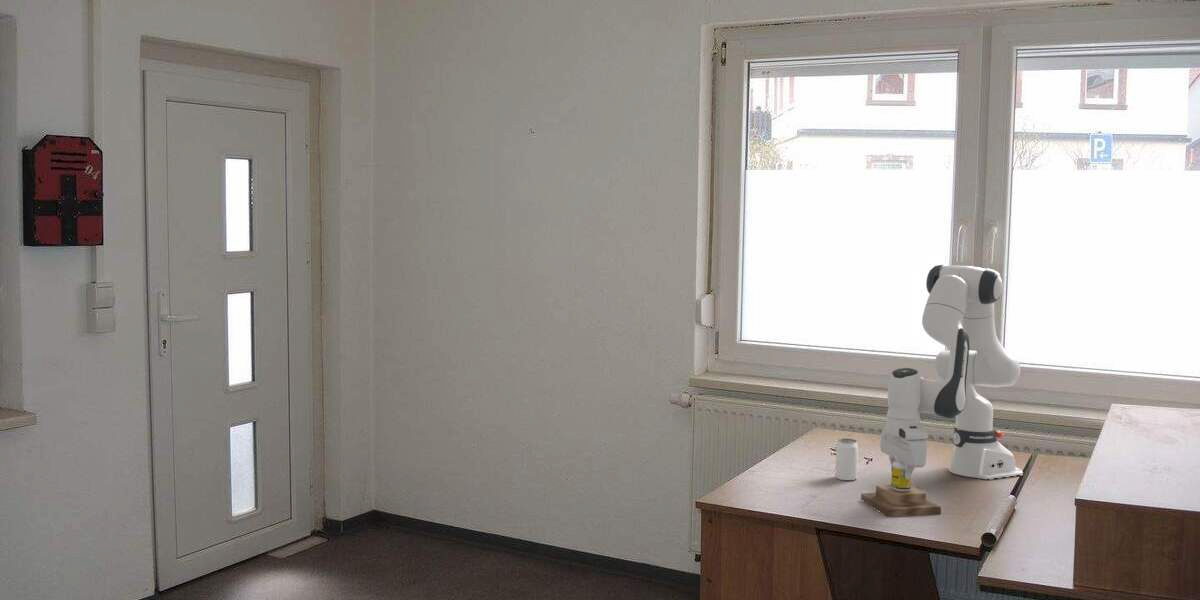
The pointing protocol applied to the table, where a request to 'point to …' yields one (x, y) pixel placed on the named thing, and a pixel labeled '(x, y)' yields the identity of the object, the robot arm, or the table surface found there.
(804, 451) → the table surface
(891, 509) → the plinth
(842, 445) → the can
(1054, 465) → the table surface
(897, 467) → the supplement bottle
